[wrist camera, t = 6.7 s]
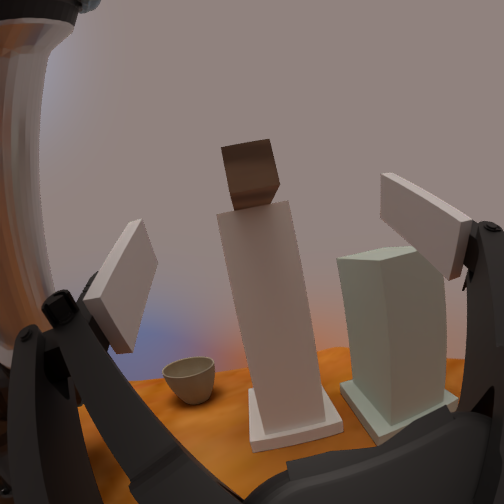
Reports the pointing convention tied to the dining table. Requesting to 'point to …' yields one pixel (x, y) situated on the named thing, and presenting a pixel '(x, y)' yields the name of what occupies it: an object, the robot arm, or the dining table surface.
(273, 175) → the walnut beam
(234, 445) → the dining table surface
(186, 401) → the beige round bowl
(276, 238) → the tall stand
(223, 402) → the dining table surface
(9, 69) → the robot arm
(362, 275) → the post
